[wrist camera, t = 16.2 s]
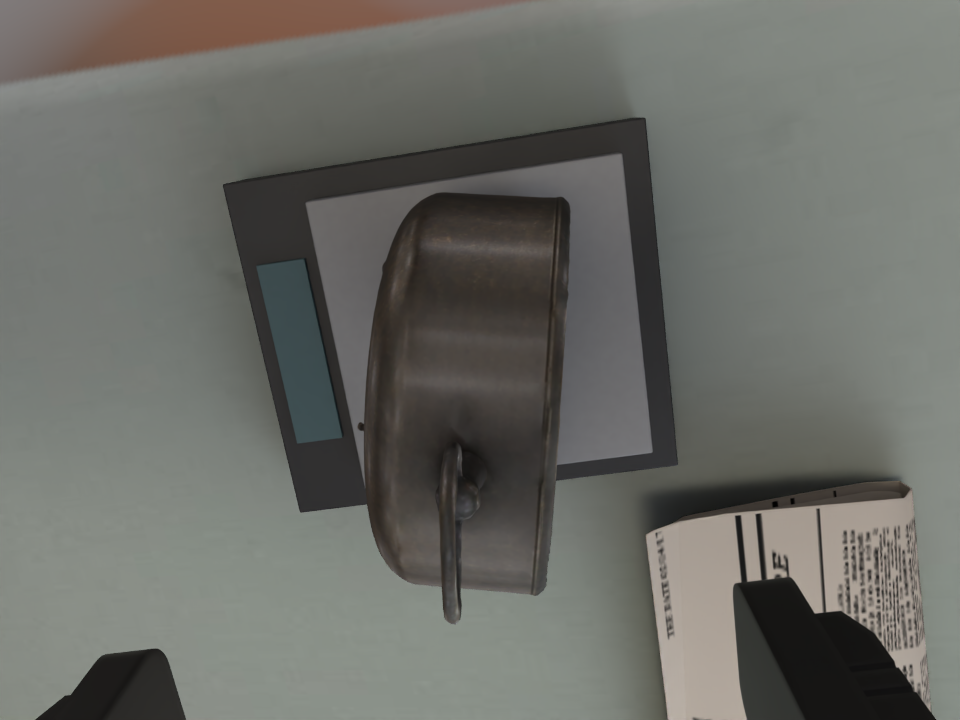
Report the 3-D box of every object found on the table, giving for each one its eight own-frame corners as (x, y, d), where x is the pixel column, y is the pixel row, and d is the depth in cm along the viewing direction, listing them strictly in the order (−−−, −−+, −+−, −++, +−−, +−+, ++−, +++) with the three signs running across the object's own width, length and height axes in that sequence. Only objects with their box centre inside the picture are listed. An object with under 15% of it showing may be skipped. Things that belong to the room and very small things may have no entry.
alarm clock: (545, 475, 31) (579, 838, 15) (402, 467, 31) (293, 818, 15) (566, 180, 28) (637, 259, 12) (408, 172, 28) (278, 240, 12)
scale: (313, 487, 35) (294, 522, 32) (243, 179, 31) (214, 186, 28) (666, 442, 34) (682, 474, 31) (635, 117, 30) (649, 117, 27)
